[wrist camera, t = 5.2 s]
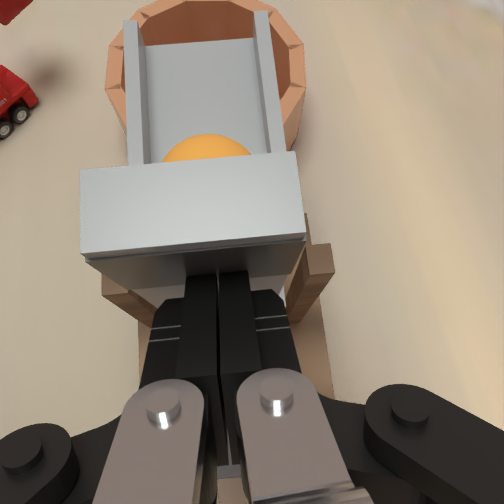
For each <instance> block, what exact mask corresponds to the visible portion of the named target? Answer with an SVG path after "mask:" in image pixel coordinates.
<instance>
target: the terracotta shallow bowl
mask: <svg viewBox="0 0 504 504" xmlns="http://www.w3.org/2000/svg"><path fill="white" fill-rule="evenodd" d="M138 10H139V11H138ZM138 10H137V11H136V13H135V14H134V15H133V16H132V18H131V19H130V20H137V22H138V25H139V28H140V31H141V34H142V38H143V41H144V44H145V46H154V45H167V44H179V43H192V42H205V41H218V40H231V39H244V38H253V16H254V11H262V10H267V11H268V18H269V25H270V33H271V40H272V48H273V55H274V62H275V70H276V77H277V85H278V92H279V100H280V107H281V114H282V122H283V129H284V137H285V144H286V151H287V152H288V151H290V149H291V146H292V143H293V142H294V140H295V138H296V137H297V134H298V129H299V123H300V118H301V113H302V107H303V102H304V97H305V91H306V75H305V59H304V45H303V43H302V41H301V40H300V39H299V38H298V36H297V35H296V34H295V32H294V31H293V30H292V29H291V27H290V26H289V25H288V23H287V22H286V21H285V20H284V18H283V17H282V16H281V14H280V13H279V12H278V11H277V9H275V8H273V7H271V6H269V5H266V4H264V3H262V2H260V1H257V0H159V1H156V2H154V3H152V4H150V5H147V6H145V7H143V8H141V9H138ZM130 20H129V21H130ZM105 91H106V93H107V96H108V98H109V100H110V102H111V104H112V106H113V108H114V110H115V113H116V115H117V117H118V119H119V121H120V123H121V125H122V127H123V130H124V132H125V134H126V136H127V123H126V95H125V67H124V39H123V29H122V30H121V31H120V32H119V34H118V35H117V36H116V37H115V39H114V40H113V41H112V42H111V44H110V46H109V50H108V60H107V70H106V80H105Z"/></svg>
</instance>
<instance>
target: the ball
mask: <svg viewBox="0 0 504 504" xmlns="http://www.w3.org/2000/svg"><path fill="white" fill-rule="evenodd" d="M242 155H251V153H250V152H249V151H248V150H247V149H246V148H245V147H243V146H242V145H241V144H239V143H238V142H236V141H235V140H232V139H230V138H228V137H225V136H222V135H217V134H201V135H195V136H192V137H189V138H187V139H185V140H183V141H181V142H180V143H178V144H177V145H176V146H174V147H173V148H172V149H171V150H170V151H169V152H168V153H167V155H166V156H165V158H164V159H163V161H162V163H163V162H174V161H186V160H197V159H208V158H220V157H231V156H242Z"/></svg>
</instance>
